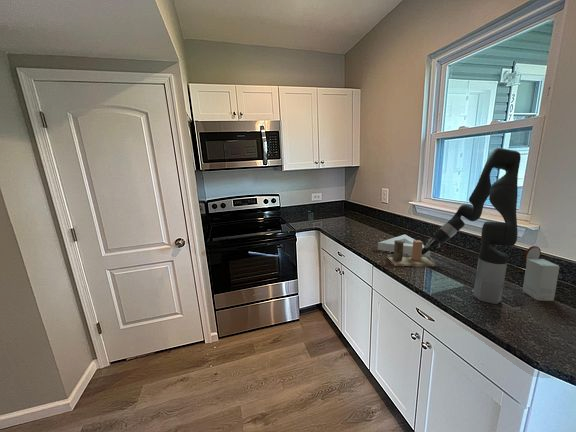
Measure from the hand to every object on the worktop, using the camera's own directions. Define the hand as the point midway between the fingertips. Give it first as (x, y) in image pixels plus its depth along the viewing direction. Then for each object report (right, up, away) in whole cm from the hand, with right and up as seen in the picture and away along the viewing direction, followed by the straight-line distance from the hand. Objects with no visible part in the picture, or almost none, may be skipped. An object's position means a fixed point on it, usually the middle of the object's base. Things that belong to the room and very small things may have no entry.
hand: (421, 253), depth 143 cm
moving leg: (-2, -3, +2) cm, 4 cm away
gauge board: (-6, -5, +2) cm, 8 cm away
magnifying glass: (+32, -11, -30) cm, 45 cm away
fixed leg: (-13, -3, +3) cm, 13 cm away
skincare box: (+30, -13, -36) cm, 49 cm away
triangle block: (+2, -1, +26) cm, 26 cm away
